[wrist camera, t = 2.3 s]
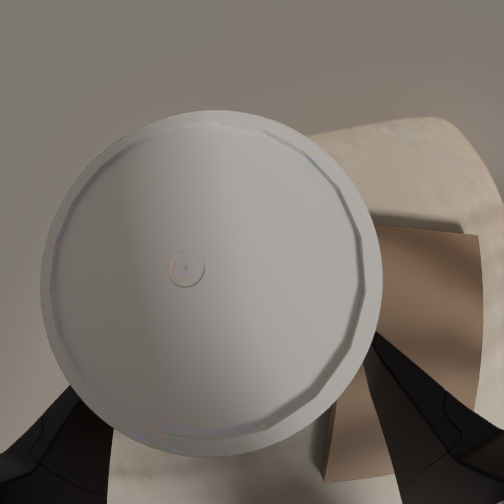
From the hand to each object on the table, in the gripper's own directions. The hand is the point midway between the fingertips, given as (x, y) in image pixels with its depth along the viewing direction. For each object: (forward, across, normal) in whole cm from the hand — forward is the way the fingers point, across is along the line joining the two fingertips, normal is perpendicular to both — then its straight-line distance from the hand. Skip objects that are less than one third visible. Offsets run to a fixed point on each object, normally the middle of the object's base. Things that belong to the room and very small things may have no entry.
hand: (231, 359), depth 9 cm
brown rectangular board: (+4, -11, +9) cm, 15 cm away
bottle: (+8, 0, +6) cm, 10 cm away
